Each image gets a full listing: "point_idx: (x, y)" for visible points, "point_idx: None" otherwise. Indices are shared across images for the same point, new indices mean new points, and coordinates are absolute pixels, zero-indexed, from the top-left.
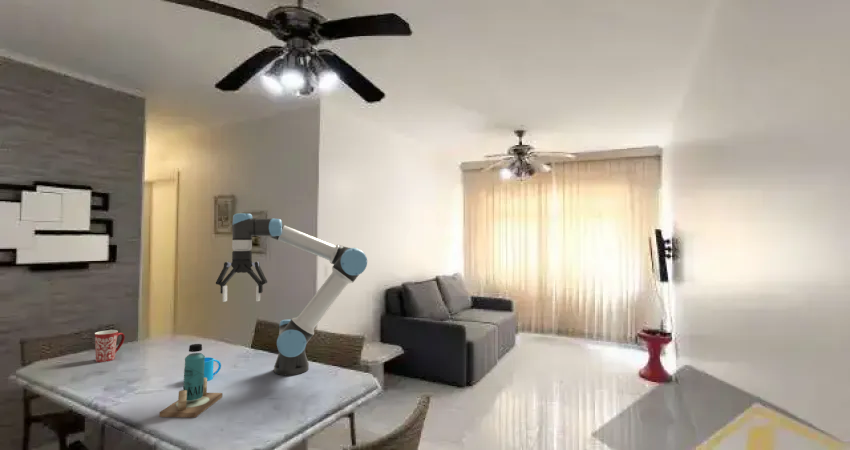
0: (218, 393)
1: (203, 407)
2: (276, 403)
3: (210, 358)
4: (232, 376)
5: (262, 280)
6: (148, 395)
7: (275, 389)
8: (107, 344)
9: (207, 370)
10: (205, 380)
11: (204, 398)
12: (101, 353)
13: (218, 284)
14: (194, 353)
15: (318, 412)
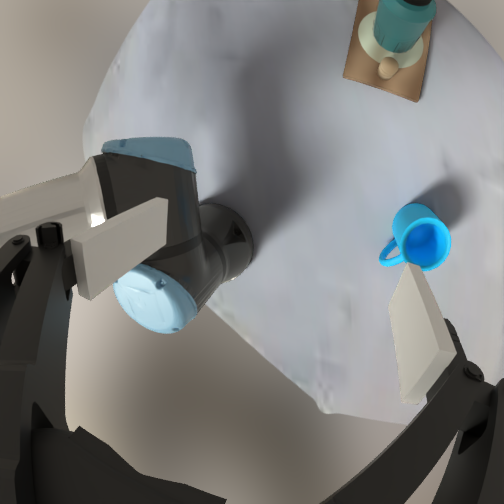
0: (351, 74)
1: (357, 7)
2: (218, 31)
3: (408, 257)
4: (348, 230)
5: (10, 253)
6: (495, 146)
7: (231, 108)
8: None
9: (407, 214)
10: (382, 59)
11: (373, 49)
12: None
13: (491, 385)
14: (418, 6)
15: (150, 4)
